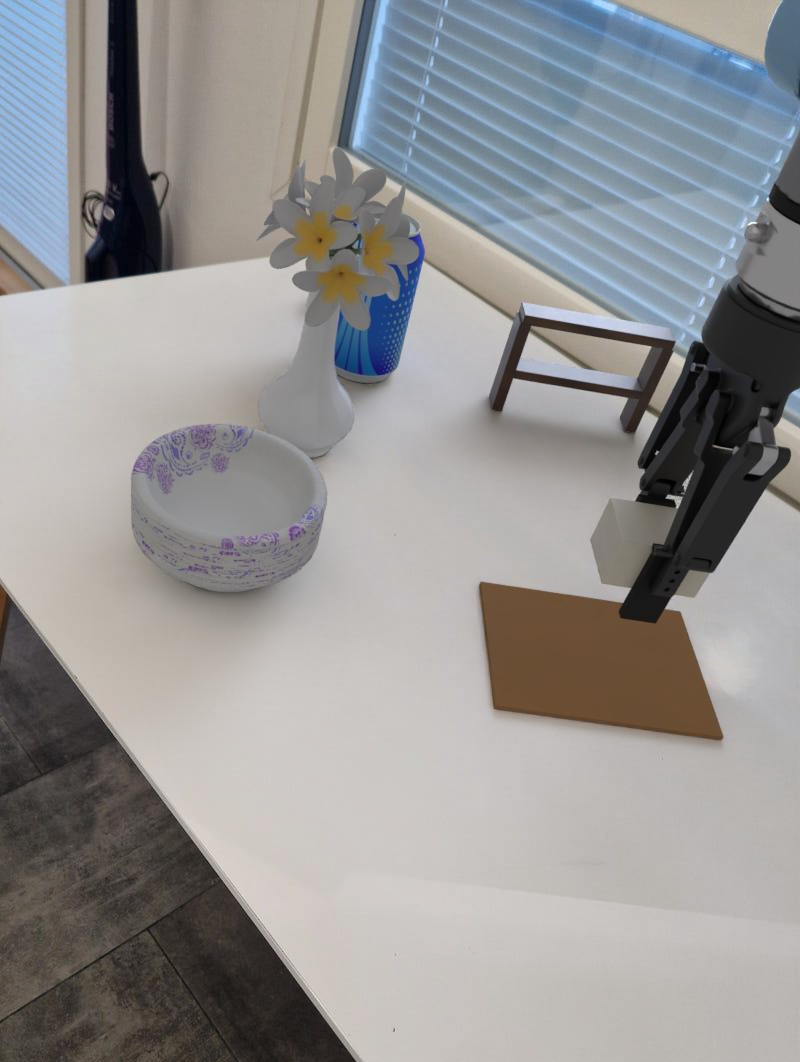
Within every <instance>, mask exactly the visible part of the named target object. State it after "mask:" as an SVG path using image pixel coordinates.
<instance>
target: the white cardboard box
mask: <svg viewBox="0 0 800 1062" xmlns="http://www.w3.org/2000/svg"><path fill="white" fill-rule="evenodd" d="M678 508H679V507H676V508H672V507H666V506H660V505H653V504H647V503H641V502H635V500H627V499H622V498H617V497H609V500H608V501H607V504H606V505H605V507H604V510H603V512H602V514H601V516H600V518H599V519H598V521H597V522H598V523H597V524H596V527H595V529H594V530H593V533H592V535H591V537H590V538H589V541H590V545H591V549H592V552H593V553H592V554H593V555H594V556H593V557H594V560H595V564H596V568H597V571H598V572H597V573H598V576H599V580H600V582H601V584H602V585H607V586H614V587H621V588H627V589H631V588H632V586H633V584H634V583H635V581H636V579H637V577H638V575H639V574H640V572H641V570H642V568H643V566H644V565H645V563H646V561H647V559H648V557H649V556H650V554H651V552H652V545H653V543H656V544H662V545H664V543H665V540H666V538H667V535H668V533H669V530H670V528H671V525H672V523H673V520H674V518H675V515H676V513H677V510H678ZM710 574H711V573H707V572H700V571H693V570H689V571H688V573H687V575H686V576H685V578H684V580H683V581H682V583H681V584H680V586H679V588H678V590H677V591H676V593H675V595H674V596H679V597H686V598H692V599H695V598H696V596H697V595H698V593H699V592H700V590H701V588H702V587H703V586H704V584H705V582H706V581H707V579H708V577H709V576H710Z"/></svg>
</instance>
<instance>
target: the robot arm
mask: <svg viewBox="0 0 800 1062" xmlns="http://www.w3.org/2000/svg"><path fill="white" fill-rule="evenodd" d="M764 44H765V45H764V48H763V61H764V67H765V71H766V73H767V76H768V77H769V79H770V80H771V82H772V83H773V84H774V85H775V86H776V87H778V88H779V89H781V90H782V91H784V92H785V93H787V94H789V95H790V96H792V97H794V98H795V99H796V100H797V101H798V102H799V103H800V0H780V2H779V4H778V6H777V7H776V9H775V11H774V13H773V15H772V18H771V19H770V22H769V25H768V29H767V35H766V38H765V42H764ZM743 237H744V240H745V242H744V244H743V246H742V249H741V251H740V253H739V254H738V257H737V259H736V260H735V263H734V269H735V272H736V273H737V274H734V275H732V276H731V277H729V278H727V279H726V280H725V281H724V283H723V285H722V287H721V289H720V291H719V293H718V295H717V297H716V299H715V301H714V303H713V305H712V307H711V309H710V311H709V313H708V316H707V318H706V319H705V322H704V323H703V326H702V328H701V333H700V334H701V335H700V336H701V341H700V340H693V341H692V342H691V344H690V345H689V348H688V352H687V355H686V357H685V360H684V363H683V367H682V368H681V369H682V370H681V372H680V374H679V377H678V378H677V381H676V382H675V385H674V386H673V389H672V391H671V393H670V394H669V396H668V398H667V400H666V402H665V405H664V407H663V409H662V411H661V412H660V414H659V416H658V419H657V421H656V423H655V424H654V426H653V429H652V431H651V433H650V435H649V436H648V438H647V440H646V442H645V444H644V446H643V449H642V450H641V452H640V455H639V456H638V459H637V462H636V463H637V468H638V469H640V470H643V471H644V472H643V474H642V475H641V476H640V478H639V485H638V488H639V490H640V493H638V494H637V497H636V499H635V500H634V501H635V502H641V503H647V504H653V505H660V506H666V507H672V508H678V510H677V513H676V515H675V518H674V520H673V523H672V525H671V528H670V530H669V533H668V535H667V538H666V540H665V543H664V545H662V544H656V543H653V545H652V552H651V554H650V556H649V557H648V559H647V561H646V563H645V565H644V566H643V568H642V570H641V572H640V574H639V575H638V577H637V579H636V581H635V583H634V584H633V586H632V588H629V589H630V590H629V591H628V593H627V595H626V597H625V598H624V600H623V602H622V603H623V604H622V606H621V608H620V609H619V615H620V618H622V619H628V620H635V621H642V622H648V623H655V624H656V623H657V621H658V619H659V618H660V616H661V614H662V613H663V611H664V609H667V606H668V604H669V603H670V601H671V599H672V598H673V597H674V596H676V595H675V593H676V591H677V590H678V588H679V586H680V584H681V583H682V581H683V580H684V578H685V576H686V575H687V573H688V571H689V570H693V571H700V572H707V573H710V574H714V572H715V571H716V570H717V568H718V566H719V564H720V563H721V561H722V560H723V558H724V557H725V555H726V553H727V552H728V550H729V549H730V547H731V545H732V544H733V543H734V541H735V539H736V538H737V536H738V534H739V532H740V531H741V529H742V527H743V526H744V525H745V523H746V521H747V520H748V518H749V517H750V515H751V513H752V511H753V510H754V509H755V507H756V505H757V503H758V502H759V500H760V499H761V498H762V495H763V494H764V492H765V491H766V489H767V487H768V486H769V484H770V483H771V482H772V481H773V480H774V479H775V478H776V477H777V476H778V475H779V474H780V473H781V472H782V471H783V470H784V469H785V468H786V467H787V466H788V465H789V464H790V461H791V459H792V458H791V457H792V450H791V448H790V447H787V446H781V445H777V441H776V435H775V428H776V427H777V426H778V425H779V424H780V421H781V420H782V418H783V413H784V410H785V407H786V405H787V402H788V400H789V398H790V395H791V394H792V393H794V392H795V391H797V390H800V130H799V132H798V134H797V136H796V138H795V140H794V142H793V144H792V146H791V148H790V151H789V153H788V155H787V157H786V159H785V161H784V163H783V165H782V167H781V169H780V171H779V173H778V175H777V178H776V180H774V183H773V185H772V187H771V190H770V192H769V194H768V196H767V197H766V200H765V202H764V204H763V206H762V208H761V210H760V211H759V214H758V216H757V218H756V220H755V222H753V221H751V222H750V223H748V224H747V225H746V227H745V229H744V233H743ZM714 446H715V447H714ZM657 452H658V453H657ZM690 475H691V476H690ZM689 477H690V478H689ZM688 478H689V481H688V483H687V485H686V487H685V485H684V483H685V482H686V481H687V479H688ZM668 496H673V497H679V498H681V501H680V503H679V506H678V507H677V503H676V501H675V499H673V498H667V497H668Z"/></svg>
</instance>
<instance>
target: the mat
mask: <svg viewBox="0 0 800 1062" xmlns="http://www.w3.org/2000/svg"><path fill="white" fill-rule="evenodd" d="M479 593H480V600H481V601H480V602H481V610H482V616H483V626H484V634H485V642H486V651H487V659H488V667H489V668H488V669H489V677H490V684H491V685H490V686H491V693H492V701H493V709H494V710H500V711H508V712H514V713H521V714H529V715H530V714H531V715H536V716H544V717H551V718H558V719H565V720H571V721H572V720H573V721H580V722H587V723H593V724H602V725H609V726H616V727H622V728H623V727H624V728H631V729H638V730H645V731H653V732H659V733H660V732H661V733H667V734H674V735H680V736H689V737H694V738H703V739H709V740H710V739H711V740H718V741H722V740H723V739H724V734H723V731H722V728H721V726H720V722H719V719H718V716H717V714H716V713H717V712H716V711H715V707H714V704H713V702H712V699H711V695H710V693H709V689H708V687H707V684H706V681H705V678H704V675H703V673H702V670H701V667H700V664H699V660H698V658H697V654H696V652H695V650H694V646H693V644H692V641H691V637H690V635H689V632H688V628H687V626H686V623H685V620H684V618H683V613H682V612H681V610H673V609H667V608H665V609H664V611H663V613H662V614H661V616H660V618H659V619H658V621H657V623H656V624H655V623H648V622H642V621H635V620H628V619H622V618H620V615H619V609H620V608H621V606H622V604H623V602H620V601H615V600H606V599H601V598H593V597H589V596H588V597H587V596H580V595H574V594H567V593H560V592H554V591H548V590H540V589H534V588H527V587H521V586H520V587H519V586H513V585H506V584H501V583H493V582H486V581H480V582H479Z"/></svg>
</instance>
